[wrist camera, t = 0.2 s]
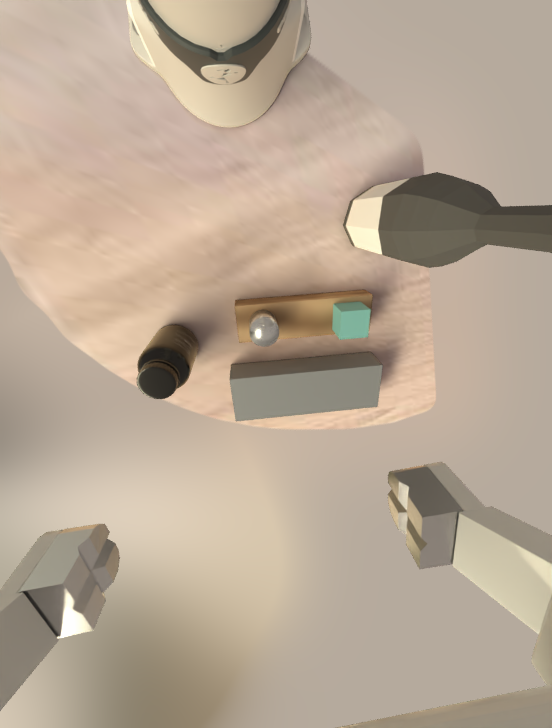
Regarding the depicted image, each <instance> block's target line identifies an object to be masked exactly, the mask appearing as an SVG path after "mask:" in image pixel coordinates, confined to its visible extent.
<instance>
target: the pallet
mask: <svg viewBox="0 0 552 728" xmlns="http://www.w3.org/2000/svg"><path fill="white" fill-rule="evenodd" d="M372 299H373V295H372V294H371V293H369V292H367V291H366V290H356V291H343V292H331V293H318V294H306V295H293V296H281V297H269V298H256V299H244V300H235V313H236V321H237V329H238V337H239V343H242V342H253V341H252V340H251V338H250V332H249V320H250V317H251V316H252V314H253V313H255V312H256V311H258V310H268V311H270V312H271V313H273V314H274V316H275V318H276V321H277V324H278V328H279V337H278V339H287V338H298V337H310V336H321V335H332V334H335V332H334V331H333V330H332V324H333V304H335V303H347V302H362V303H363V304H364V305H366V306H367V307H368V308H370V309H372ZM370 319H371V311H370ZM369 329H370V321H369Z"/></svg>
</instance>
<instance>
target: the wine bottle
mask: <svg viewBox="0 0 552 728" xmlns="http://www.w3.org/2000/svg"><path fill="white" fill-rule="evenodd" d="M343 226H344V228H345V231H346V233H347V235H348V237H349V239H350V242H351V244H352V245H353V246H355V247H358V248H361V249H365V250H368V251H371V252H375V253H378V254H381V255H385V256H388V257H391V258H395V259H398V260H401V261H405V262H409V263H413V264H417V265H421V266H425V267H429V268H431V267H439V266H444V265H447V264H450V263H453V262H456V261H458V260H460V259H462V258H463V257H465V256H467V255H469V254H470V253H472V252H474V251H475V250H477V249H479V248H481V247H483V246H485V245H487V244H489V245H496V246H504V247H512V248H520V249H528V250H536V251H544V252H550V253H552V205H545V206H510V207H501V206H500V205H499V203H498V202H497V200H496V199H495V198H494V196H493V195H492V193H491V192H490V191H489V190H487V189H485V188H484V187H482V186H480V185H478V184H474V183H472V182H469V181H466V180H462V179H459V178H457V177H454V176H450V175H446V174H442V173H438V172H436V173H432V174H428V175H422V176H418V177H413V178H409V179H404V180H399V181H395V182H390V183H385V184H381V185H376V186H372V187H371V188H369V189H368V190H366V191H365V192H363V193H362V194H360V195H359V196H357V197H356V198H354V199H353V200H351V201H350V204H349V207H348V211H347V214H346V217H345V221H344V224H343Z"/></svg>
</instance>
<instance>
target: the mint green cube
mask: <svg viewBox="0 0 552 728" xmlns="http://www.w3.org/2000/svg"><path fill="white" fill-rule="evenodd" d="M370 311H371V309H370V308H368V307H367V306H366V305H364V304H363V303H362V302H347V303H335V304H333V324H332V330H333V331H334V332H335V334H336V335H337V336H338V338H339V339H340V340H341V339H353V338H364V337H368V332H369V321H370Z"/></svg>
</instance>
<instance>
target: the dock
mask: <svg viewBox="0 0 552 728" xmlns="http://www.w3.org/2000/svg"><path fill="white" fill-rule="evenodd" d="M382 368H383V365H382V364H381V363H380V361H379V360H378V359H377V358H376V357H375V356H374V355H373V354H372V353H371V352H363V353H352V354H341V355H330V356H320V357H309V358H298V359H287V360H276V361H265V362H254V363H243V364H233V365H231V371H230V385H231V392H232V399H233V405H234V412H235V419H236V421H244V420H254V419H263V418H273V417H283V416H292V415H302V414H312V413H321V412H331V411H341V410H351V409H360V408H370V407H377V406H378V398H379V391H380V383H381V375H382Z"/></svg>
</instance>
